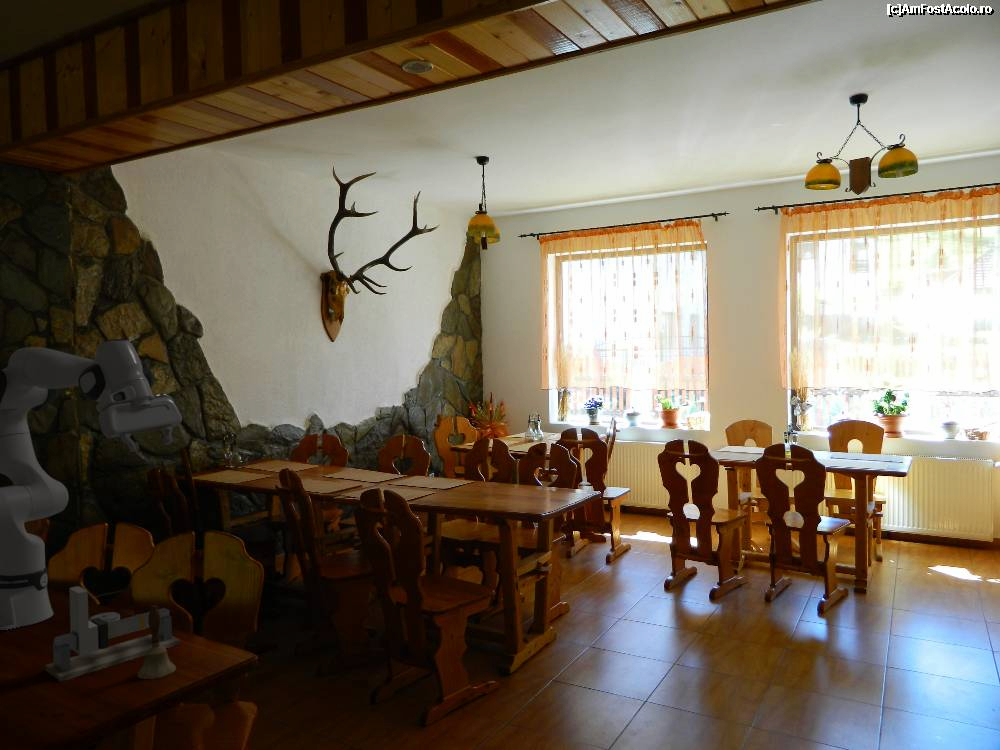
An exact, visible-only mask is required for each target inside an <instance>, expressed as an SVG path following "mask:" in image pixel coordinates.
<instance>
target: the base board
mask: <svg viewBox="0 0 1000 750" xmlns="http://www.w3.org/2000/svg"><path fill="white" fill-rule="evenodd" d="M159 641H160V646H164V647H165V648H168V649H170V647H171V648H173V646H174V647H176V646H175V645H177V646H179V645H178V644H180V645H181V639H179V638H177V637H175V636H173V635H172V639H170V640H166V641H163V640H161V639H160V638H159ZM151 647H152V633H150V634H147V635H145V636H140V637H136V638H134V639H129V640H127V641H123V642H120V643H116V644H114V645H110V646H109V645H108V648H105V649H100V648H98V651H95V652H91V653H88V654H84V655H81V656H80V655H79V654H77V655H76V656H72V657H70V665H71V670H67V671H64V672H60V671H59V670H58V669H56V668H55V667H54V662H52V663H49V664H45V671H46V672H48V673H49V674H50V675H51V676H52V677H54V678H55V679H56V680H57V681H58V682H60V683H61V682H65V681H68V680H72V679H74V677H75V678H77V676H78V677H80V675H81V676H84V675H87V674H90V672H91V673H94V672H97V671H99V670H103V668H104V669H106V668H110V667H113V666H115V665H119V664H122V663H125V661H126V662H129V661H132V660H135V658H136V659H139V658H142V657H145V656H146V651H147V650H148V649H150V648H151ZM141 656H142V657H141ZM138 657H139V658H138ZM128 660H129V661H128ZM93 671H94V672H93ZM86 673H87V674H86ZM83 674H84V675H83Z"/></svg>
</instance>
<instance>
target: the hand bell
mask: <svg viewBox="0 0 1000 750" xmlns="http://www.w3.org/2000/svg"><path fill="white" fill-rule="evenodd" d="M148 612H149V617H148V621H149V629H150V632H151V633H150V634H152V647H151V648H150V649H148V650H147V651H146V655H145V656H144V662H143V664H142V667H141V669H139V670H138V672H137V678H138V679H140V680H145V679H151V680H157V678H158V679H162V678H164V677H168V676H169V674H170V675H171V674H173V673H174V672H176V669H177V667H176V664H174V663H173V662H172V661H171V660H170V658H169V655H168V651H167V649H166V648H165V647H164V646H160V641H159V627H160V613H159V610H158V606H157V604H153V605H151V606H150V609H149V611H148ZM167 675H168V676H167Z"/></svg>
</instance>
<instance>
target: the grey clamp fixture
mask: <svg viewBox="0 0 1000 750" xmlns="http://www.w3.org/2000/svg"><path fill="white" fill-rule="evenodd" d="M158 610H159V613H160V627H159V638H160V639H161V640H163V641H166V640H170V639H172V636H173V631H172V629H173V628H172V627H173V626H172V625H173V624H172V616H171V615H170V614H171V613H170V609H167V608H165V607H162V608H159V609H158ZM149 612H150V611H147V612H143V613H138V614H135V615H133V616H129V617H126V618H125V617H124V618H122V619H121V618H120V620H117V621H113V622H110V623H108V640H110V639H114V638H116V637H120V636H125V635H129V634H131V633H134V632H138V631H144V630H146V629H150V627H149V621H148V617H149ZM98 642H100V635H99V628H98ZM75 648H79V645H78V633H76V632H73V633H71V632H69V633H65V634H62V635H58V636H55V637H54V641H53V643H52V650H53V663H54V667H55V668H56V669H58V670H59V671H60V672H64V671H67V670H71V665H70V658H71V651H73V650H72V649H75Z"/></svg>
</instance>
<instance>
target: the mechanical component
mask: <svg viewBox="0 0 1000 750" xmlns="http://www.w3.org/2000/svg"><path fill="white" fill-rule="evenodd" d="M95 618H100V619H102V620H103V621H105V622H107V623H110V622H113V621H117V620H121V615H120V613H117V612H114V611H111V612H109V611H108V612H101V613H99V614H95V615H92V616H90V617H89V618H88V620H89V621H91V619H95Z"/></svg>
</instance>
